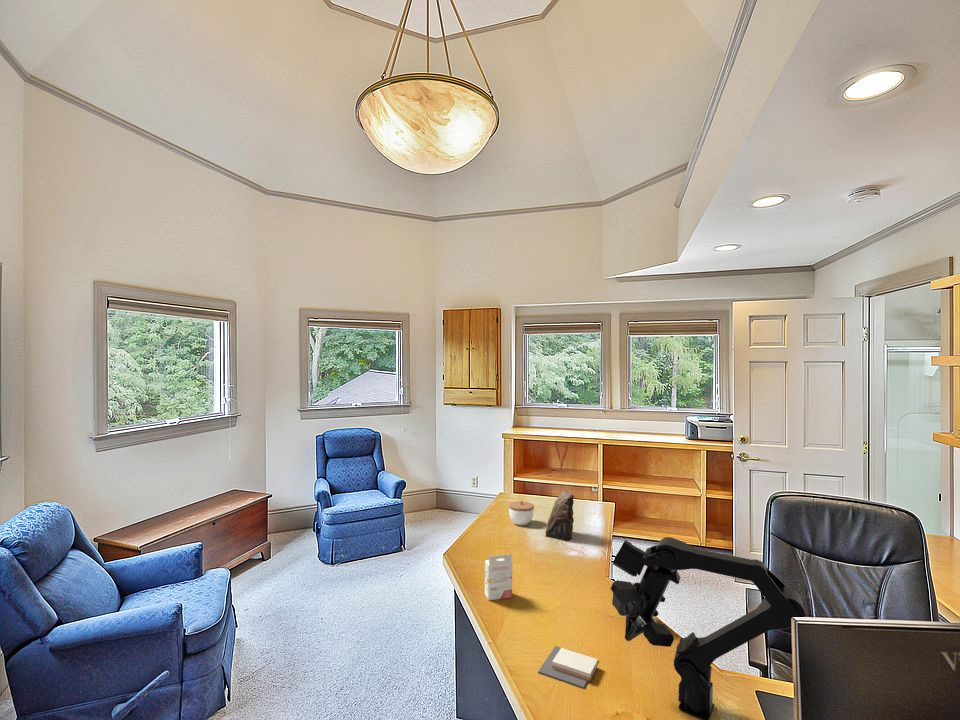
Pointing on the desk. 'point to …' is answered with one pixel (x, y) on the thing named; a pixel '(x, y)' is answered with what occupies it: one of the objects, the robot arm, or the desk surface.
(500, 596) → the ink cartridge box
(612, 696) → the desk surface
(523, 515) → the lidded bowl
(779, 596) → the robot arm
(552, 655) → the gray pad
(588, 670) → the tile
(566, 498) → the brown rock
